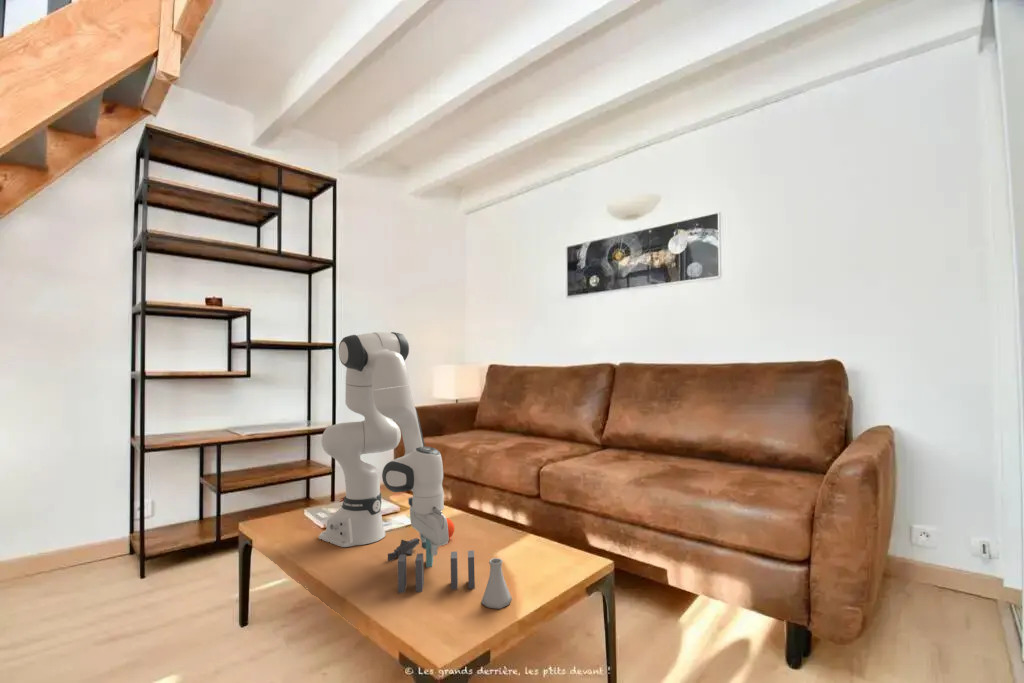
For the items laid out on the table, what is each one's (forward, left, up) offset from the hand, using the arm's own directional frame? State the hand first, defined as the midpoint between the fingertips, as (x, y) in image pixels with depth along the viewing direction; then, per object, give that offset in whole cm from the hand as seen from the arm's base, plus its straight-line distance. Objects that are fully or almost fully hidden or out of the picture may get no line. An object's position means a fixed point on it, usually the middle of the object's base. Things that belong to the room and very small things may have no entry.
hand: (429, 551), depth 141 cm
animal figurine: (-11, +3, -4) cm, 12 cm away
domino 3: (0, 0, -4) cm, 4 cm away
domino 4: (+14, -9, -4) cm, 17 cm away
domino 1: (+2, -15, -4) cm, 16 cm away
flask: (+28, -12, -4) cm, 31 cm away
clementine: (-7, +18, -4) cm, 20 cm away
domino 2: (+6, -13, -4) cm, 15 cm away
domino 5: (+18, -6, -4) cm, 19 cm away
